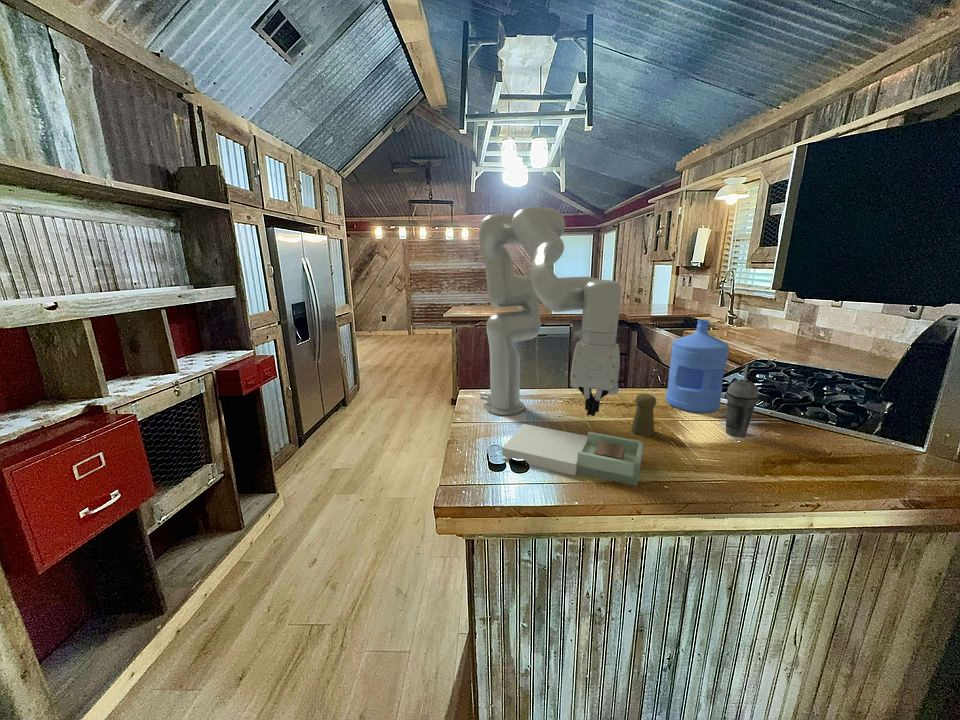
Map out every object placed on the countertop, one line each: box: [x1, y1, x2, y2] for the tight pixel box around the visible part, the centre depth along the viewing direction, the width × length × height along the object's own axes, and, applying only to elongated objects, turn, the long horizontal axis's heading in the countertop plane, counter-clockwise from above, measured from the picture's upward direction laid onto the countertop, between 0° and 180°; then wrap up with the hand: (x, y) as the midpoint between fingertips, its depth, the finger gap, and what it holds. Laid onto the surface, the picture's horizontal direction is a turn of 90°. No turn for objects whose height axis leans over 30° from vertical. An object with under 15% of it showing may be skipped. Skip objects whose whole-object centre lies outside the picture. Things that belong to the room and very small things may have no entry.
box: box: [576, 431, 645, 487], centre depth 89 cm, size 13×12×5 cm
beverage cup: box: [725, 364, 760, 439], centre depth 101 cm, size 7×7×20 cm
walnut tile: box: [594, 441, 625, 460], centre depth 88 cm, size 6×6×2 cm
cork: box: [630, 393, 657, 438], centre depth 105 cm, size 6×6×11 cm
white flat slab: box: [501, 423, 587, 476], centre depth 96 cm, size 18×15×3 cm
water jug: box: [665, 319, 730, 414], centre depth 121 cm, size 16×16×28 cm
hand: (591, 413), depth 89 cm, fingers closed
